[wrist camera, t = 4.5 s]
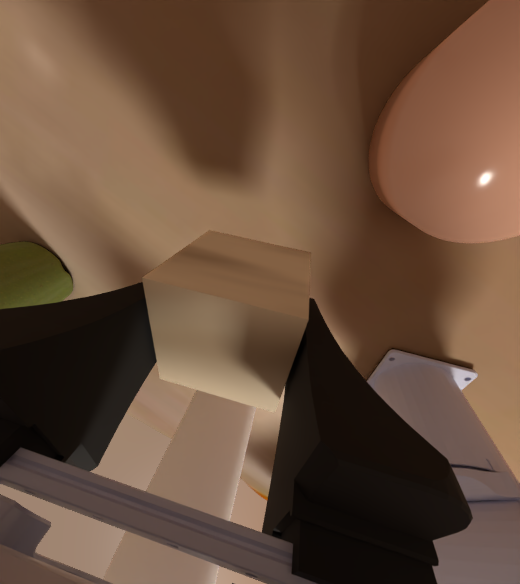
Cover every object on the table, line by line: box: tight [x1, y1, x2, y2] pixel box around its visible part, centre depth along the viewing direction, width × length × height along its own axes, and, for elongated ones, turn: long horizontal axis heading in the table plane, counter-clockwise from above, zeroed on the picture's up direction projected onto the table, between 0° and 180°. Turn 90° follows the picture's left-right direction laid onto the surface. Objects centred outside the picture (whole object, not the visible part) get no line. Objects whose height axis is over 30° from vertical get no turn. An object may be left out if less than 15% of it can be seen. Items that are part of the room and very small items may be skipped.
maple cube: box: [142, 230, 311, 413], centre depth 10 cm, size 5×5×5 cm
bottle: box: [103, 390, 256, 584], centre depth 18 cm, size 8×8×30 cm
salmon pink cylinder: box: [368, 0, 520, 243], centre depth 11 cm, size 9×9×5 cm
